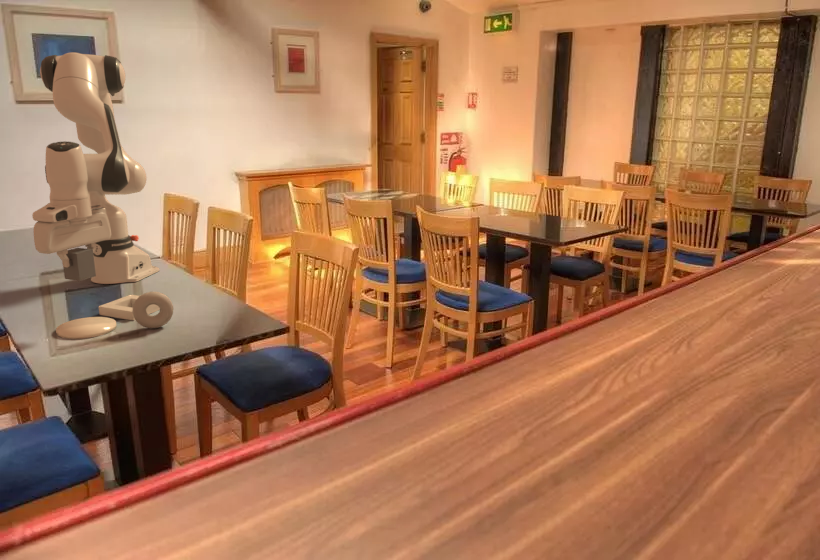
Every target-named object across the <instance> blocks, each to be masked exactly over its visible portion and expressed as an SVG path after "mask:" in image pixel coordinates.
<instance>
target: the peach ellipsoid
mask: <svg viewBox="0 0 820 560" xmlns="http://www.w3.org/2000/svg"><path fill="white" fill-rule="evenodd" d="M116 328H117V320H115V319H114V318H113V317H111V318H110V317H108V316H89V317H82V318H81V317H80V318H75V319H72V320H69V321H65V322H63V323H62V324H60V325H58V326H57V327H56V328H55V331H56V335H57V336H58V337H59V338H61V339H62V338H63V339H68V340H69V339H70V340H83V339H91V338H96V337H102V336H103V335H104V336H105V335H107V334H109V333H111V332H113V331H114V330H115V329H116Z"/></svg>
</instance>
